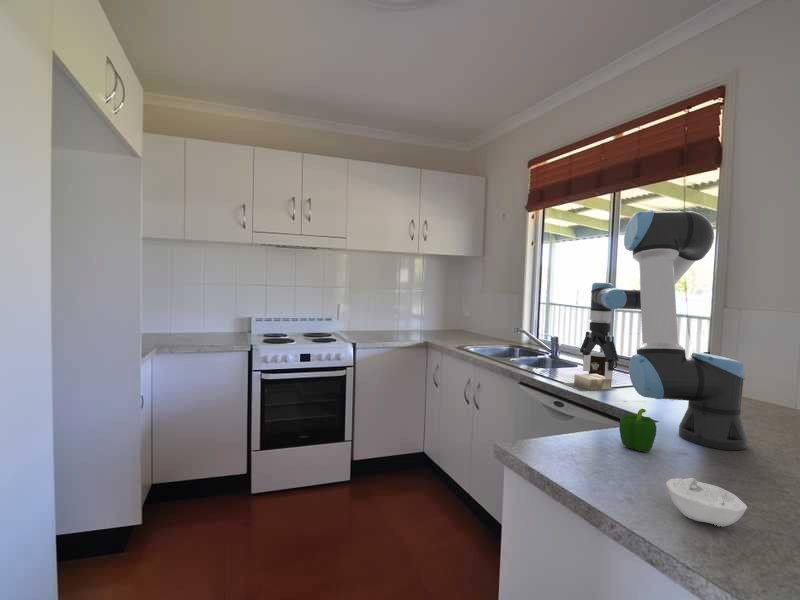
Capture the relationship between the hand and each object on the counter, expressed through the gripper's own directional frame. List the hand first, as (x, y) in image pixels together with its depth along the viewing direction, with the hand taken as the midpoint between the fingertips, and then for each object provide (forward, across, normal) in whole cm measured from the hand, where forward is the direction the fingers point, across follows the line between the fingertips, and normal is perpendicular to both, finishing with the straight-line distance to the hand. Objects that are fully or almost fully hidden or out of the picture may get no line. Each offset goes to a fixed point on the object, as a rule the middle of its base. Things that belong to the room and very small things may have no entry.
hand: (596, 374), depth 173 cm
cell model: (+6, -89, +43) cm, 99 cm away
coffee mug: (+5, +16, -13) cm, 21 cm away
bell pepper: (+5, -58, +30) cm, 66 cm away
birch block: (+3, 0, -3) cm, 4 cm away
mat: (+5, 0, +4) cm, 6 cm away
